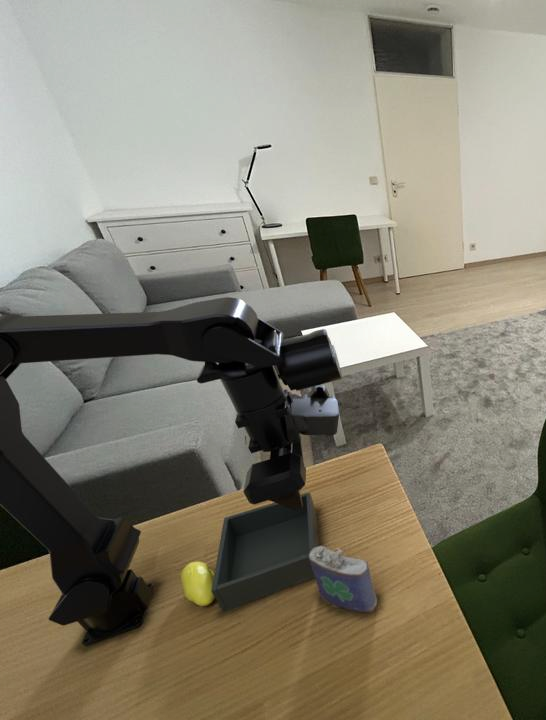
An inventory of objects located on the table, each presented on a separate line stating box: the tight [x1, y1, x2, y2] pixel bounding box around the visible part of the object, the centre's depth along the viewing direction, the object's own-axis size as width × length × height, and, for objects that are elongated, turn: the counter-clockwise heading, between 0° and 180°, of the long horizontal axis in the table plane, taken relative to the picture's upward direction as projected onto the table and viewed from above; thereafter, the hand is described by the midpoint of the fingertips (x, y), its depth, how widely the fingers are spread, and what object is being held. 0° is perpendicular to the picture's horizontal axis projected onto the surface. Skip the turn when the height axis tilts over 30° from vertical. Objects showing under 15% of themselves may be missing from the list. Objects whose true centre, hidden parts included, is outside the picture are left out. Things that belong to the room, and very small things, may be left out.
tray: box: [211, 492, 320, 612], centre depth 62 cm, size 13×13×5 cm
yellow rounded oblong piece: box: [180, 561, 216, 607], centre depth 57 cm, size 4×8×4 cm
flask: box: [308, 545, 378, 614], centre depth 54 cm, size 9×3×11 cm, turn 72°
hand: (299, 485), depth 57 cm, fingers open, 9 cm apart
